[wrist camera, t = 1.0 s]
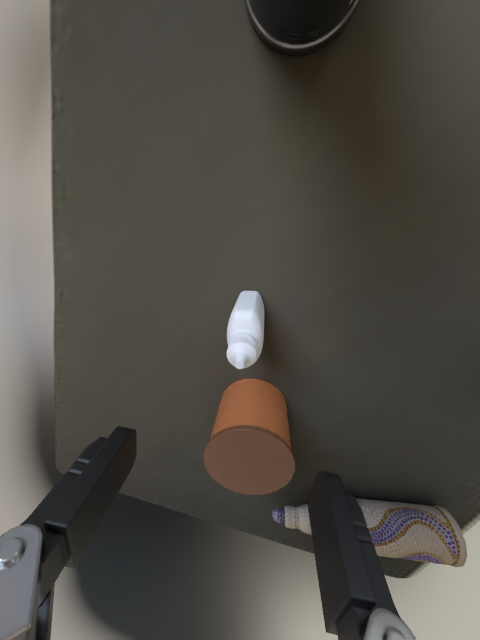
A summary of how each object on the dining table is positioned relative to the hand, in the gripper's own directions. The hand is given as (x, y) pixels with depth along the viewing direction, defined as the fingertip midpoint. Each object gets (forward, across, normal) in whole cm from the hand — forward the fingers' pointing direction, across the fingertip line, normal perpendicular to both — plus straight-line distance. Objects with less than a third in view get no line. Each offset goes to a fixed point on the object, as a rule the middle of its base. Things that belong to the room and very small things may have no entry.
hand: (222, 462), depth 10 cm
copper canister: (+20, -3, +14) cm, 24 cm away
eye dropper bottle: (+20, 0, 0) cm, 20 cm away
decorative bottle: (+20, -23, +28) cm, 41 cm away
